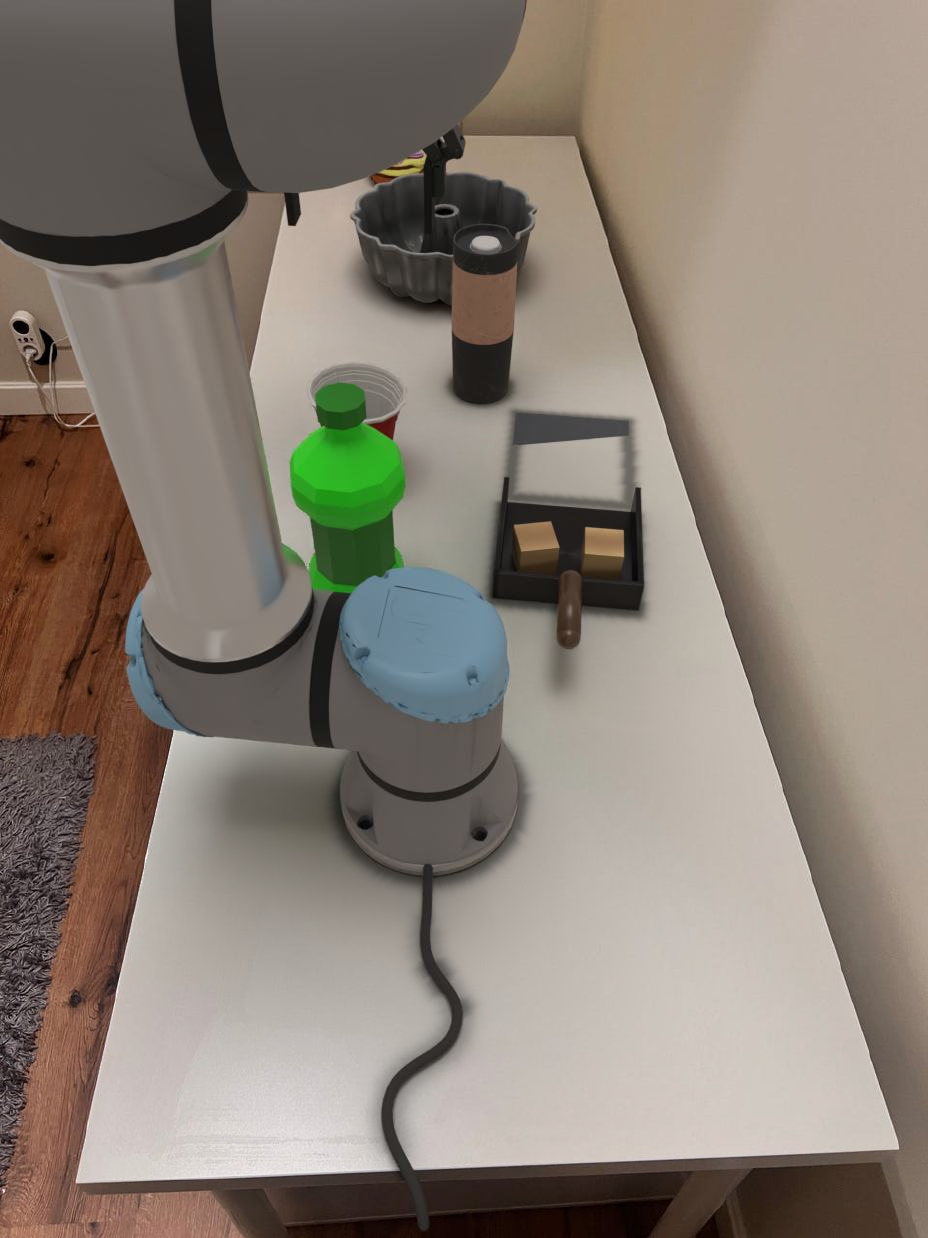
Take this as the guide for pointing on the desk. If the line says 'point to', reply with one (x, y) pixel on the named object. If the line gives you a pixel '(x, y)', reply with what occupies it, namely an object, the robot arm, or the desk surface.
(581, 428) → the mat
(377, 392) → the plastic cup
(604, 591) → the pan
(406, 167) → the cheeseburger
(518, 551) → the block
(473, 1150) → the desk surface
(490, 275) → the travel mug
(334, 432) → the plastic bottle
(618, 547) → the block
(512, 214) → the bundt pan
